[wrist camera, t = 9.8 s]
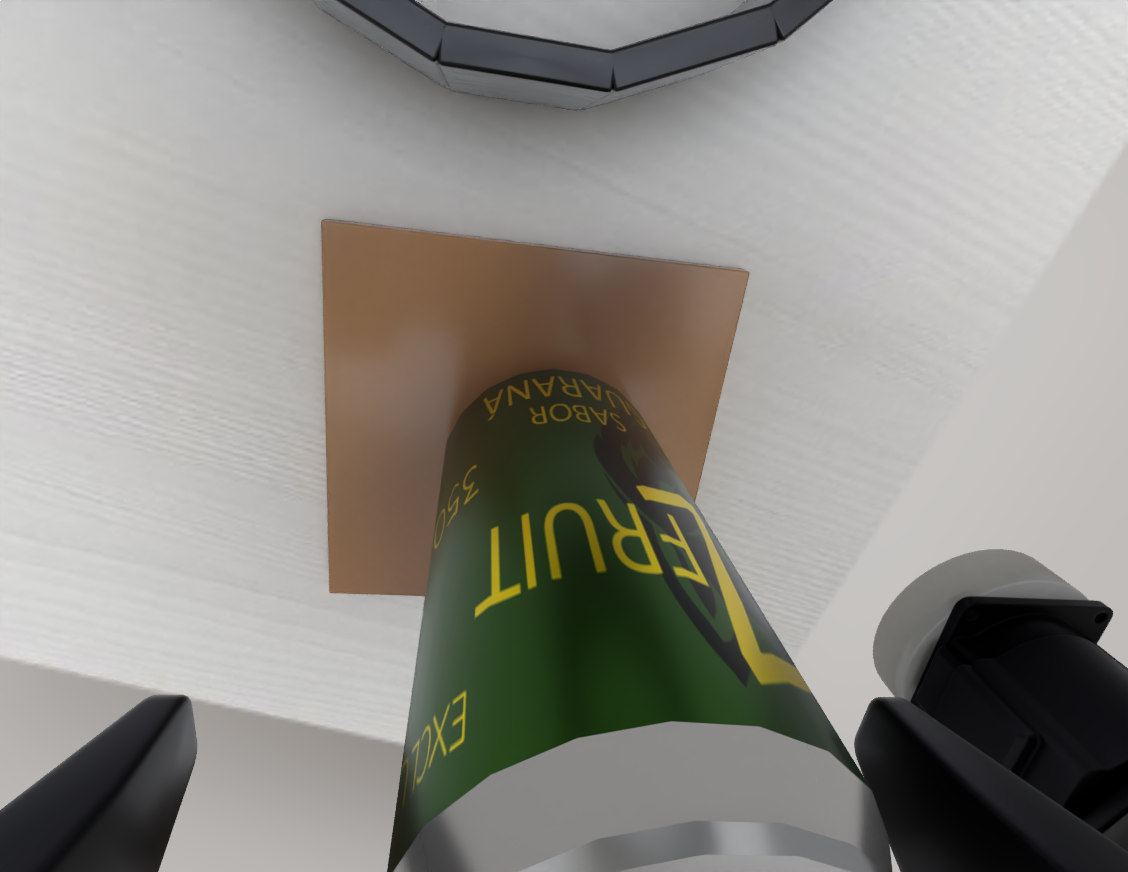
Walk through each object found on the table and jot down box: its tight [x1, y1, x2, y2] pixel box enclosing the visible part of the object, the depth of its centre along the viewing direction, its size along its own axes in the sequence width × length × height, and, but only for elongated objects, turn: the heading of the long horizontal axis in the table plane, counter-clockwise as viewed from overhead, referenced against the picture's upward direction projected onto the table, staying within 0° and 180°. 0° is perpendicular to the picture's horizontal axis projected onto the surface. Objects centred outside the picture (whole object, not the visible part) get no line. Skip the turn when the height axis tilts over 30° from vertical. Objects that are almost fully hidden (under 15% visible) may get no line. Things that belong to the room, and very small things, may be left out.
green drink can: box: [387, 369, 892, 872], centre depth 11 cm, size 5×5×12 cm
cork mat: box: [321, 219, 749, 596], centre depth 16 cm, size 10×10×1 cm
